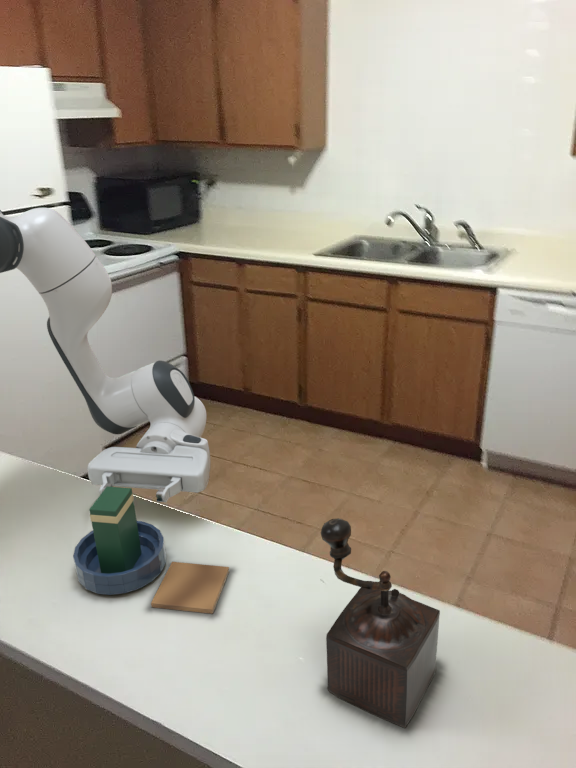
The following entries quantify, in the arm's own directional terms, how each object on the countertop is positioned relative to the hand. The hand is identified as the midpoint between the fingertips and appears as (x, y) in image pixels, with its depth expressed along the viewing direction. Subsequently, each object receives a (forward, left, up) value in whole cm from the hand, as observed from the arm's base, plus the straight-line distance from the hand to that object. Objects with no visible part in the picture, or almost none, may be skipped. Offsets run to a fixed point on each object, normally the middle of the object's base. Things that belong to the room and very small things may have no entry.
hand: (132, 496), depth 105 cm
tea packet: (0, -7, -8) cm, 10 cm away
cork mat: (+12, -10, -8) cm, 18 cm away
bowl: (0, -7, -8) cm, 11 cm away
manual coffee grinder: (+38, -21, -9) cm, 44 cm away
